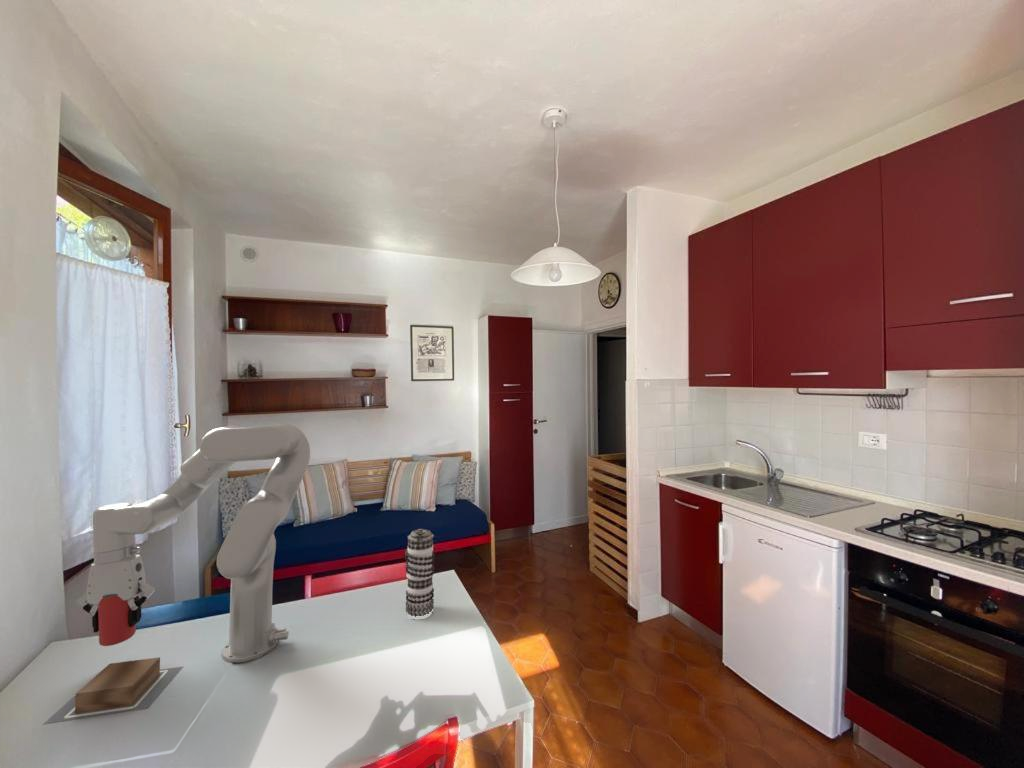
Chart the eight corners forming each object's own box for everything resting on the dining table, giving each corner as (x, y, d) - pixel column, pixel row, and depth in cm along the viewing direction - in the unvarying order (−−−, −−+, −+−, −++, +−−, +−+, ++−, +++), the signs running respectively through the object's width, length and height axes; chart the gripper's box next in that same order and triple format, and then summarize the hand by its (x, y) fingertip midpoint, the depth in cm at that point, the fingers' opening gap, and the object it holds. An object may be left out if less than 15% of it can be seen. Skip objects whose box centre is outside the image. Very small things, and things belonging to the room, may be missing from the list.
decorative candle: (406, 606, 131) (407, 527, 132) (435, 604, 132) (436, 526, 133) (402, 621, 122) (403, 536, 123) (433, 619, 123) (434, 535, 124)
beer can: (113, 648, 98) (111, 598, 98) (91, 646, 99) (90, 596, 100) (142, 632, 104) (141, 585, 105) (122, 630, 106) (121, 584, 106)
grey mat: (183, 668, 101) (183, 666, 101) (147, 710, 87) (147, 708, 87) (94, 679, 96) (94, 677, 97) (42, 726, 83) (42, 723, 83)
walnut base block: (159, 674, 98) (160, 657, 98) (131, 704, 88) (132, 685, 88) (109, 681, 96) (109, 663, 96) (74, 713, 86) (75, 693, 86)
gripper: (164, 544, 108) (167, 612, 108) (84, 553, 104) (86, 625, 104) (146, 555, 101) (149, 628, 100) (60, 565, 97) (62, 642, 96)
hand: (117, 626), depth 102 cm, fingers closed on beer can, 6 cm apart
